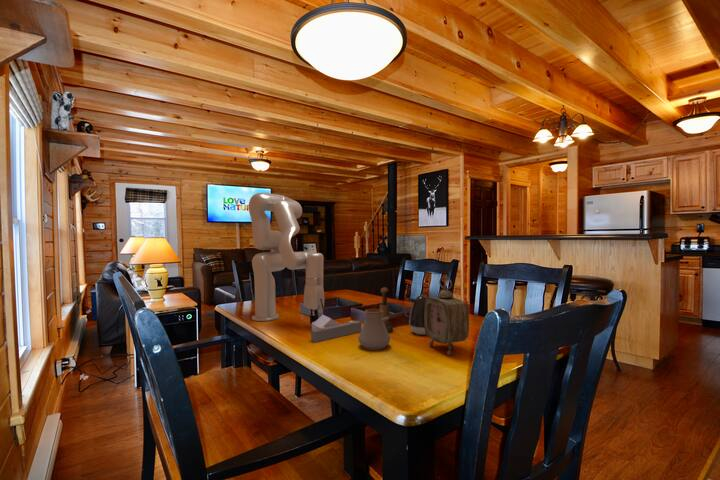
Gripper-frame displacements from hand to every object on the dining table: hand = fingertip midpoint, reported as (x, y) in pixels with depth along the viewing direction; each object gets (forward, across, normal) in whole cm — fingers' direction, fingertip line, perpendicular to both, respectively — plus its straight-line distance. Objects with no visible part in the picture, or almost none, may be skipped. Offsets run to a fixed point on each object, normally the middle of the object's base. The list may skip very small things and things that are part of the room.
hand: (314, 324), depth 150 cm
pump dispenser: (0, +36, +28) cm, 46 cm away
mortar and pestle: (+1, +24, +19) cm, 31 cm away
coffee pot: (+1, +41, +3) cm, 41 cm away
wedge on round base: (+2, +8, 0) cm, 9 cm away
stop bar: (+1, +17, 0) cm, 17 cm away
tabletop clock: (0, +55, +19) cm, 58 cm away
